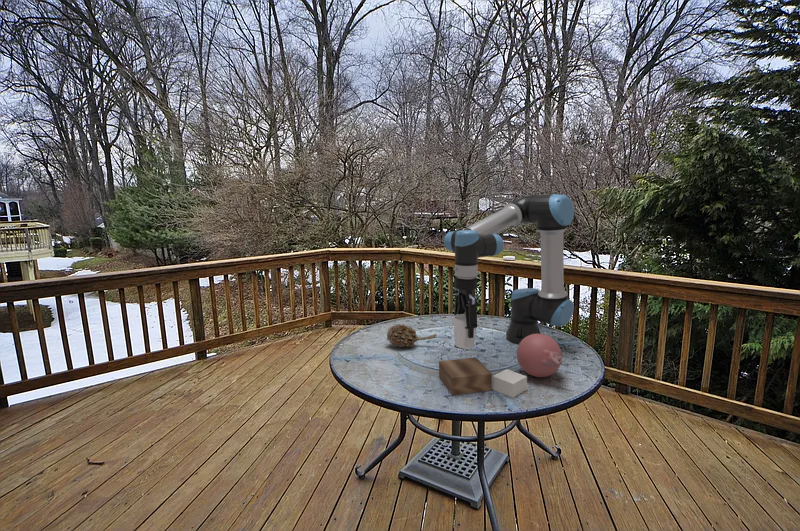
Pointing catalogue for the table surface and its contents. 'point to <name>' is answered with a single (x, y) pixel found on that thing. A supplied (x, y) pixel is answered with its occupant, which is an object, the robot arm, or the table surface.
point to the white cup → (461, 331)
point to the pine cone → (404, 336)
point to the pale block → (509, 383)
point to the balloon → (539, 355)
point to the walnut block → (465, 376)
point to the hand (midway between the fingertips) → (464, 341)
